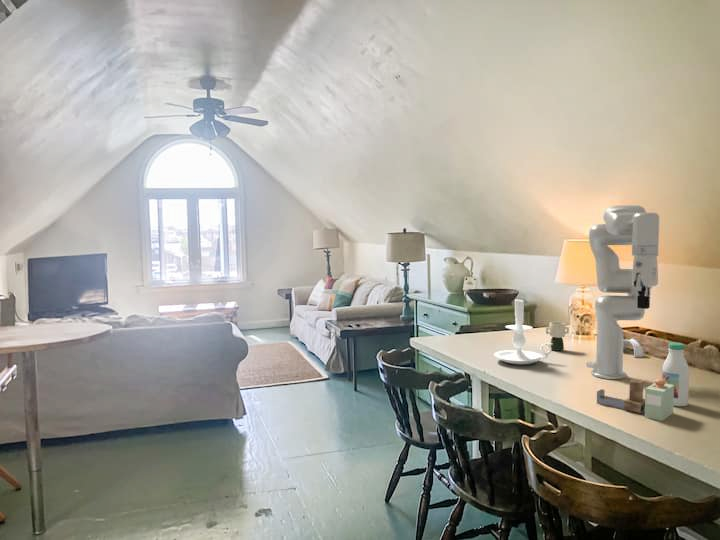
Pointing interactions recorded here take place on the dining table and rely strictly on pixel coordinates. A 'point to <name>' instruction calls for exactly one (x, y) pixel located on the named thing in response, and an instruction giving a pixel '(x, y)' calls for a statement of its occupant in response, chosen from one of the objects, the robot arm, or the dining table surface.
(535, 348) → the dining table surface
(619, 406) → the rail
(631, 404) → the carriage
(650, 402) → the cabinet
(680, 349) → the milk bottle
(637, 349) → the white arch
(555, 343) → the character mug
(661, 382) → the gauge plunger
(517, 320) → the candlestick
